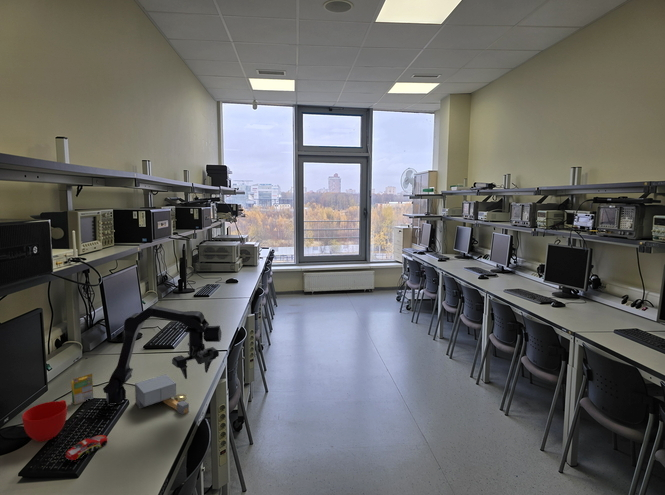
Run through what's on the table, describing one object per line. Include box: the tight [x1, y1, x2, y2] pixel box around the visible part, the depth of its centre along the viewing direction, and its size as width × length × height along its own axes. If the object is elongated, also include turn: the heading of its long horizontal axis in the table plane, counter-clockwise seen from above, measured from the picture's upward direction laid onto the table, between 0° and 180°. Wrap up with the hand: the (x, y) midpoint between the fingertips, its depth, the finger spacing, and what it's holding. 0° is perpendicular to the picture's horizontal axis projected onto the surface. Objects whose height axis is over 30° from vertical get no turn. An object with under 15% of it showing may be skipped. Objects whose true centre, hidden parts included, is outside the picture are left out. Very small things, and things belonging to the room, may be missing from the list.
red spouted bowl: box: [21, 399, 68, 443], centre depth 140 cm, size 13×17×10 cm
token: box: [173, 393, 187, 402], centre depth 168 cm, size 5×5×1 cm
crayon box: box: [70, 373, 94, 406], centre depth 163 cm, size 7×3×12 cm, turn 141°
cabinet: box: [134, 374, 177, 409], centre depth 163 cm, size 13×11×9 cm
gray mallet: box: [162, 397, 190, 415], centre depth 161 cm, size 3×15×4 cm, turn 56°
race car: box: [65, 434, 108, 462], centre depth 132 cm, size 13×5×4 cm, turn 153°
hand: (196, 375), depth 165 cm, fingers open, 9 cm apart
